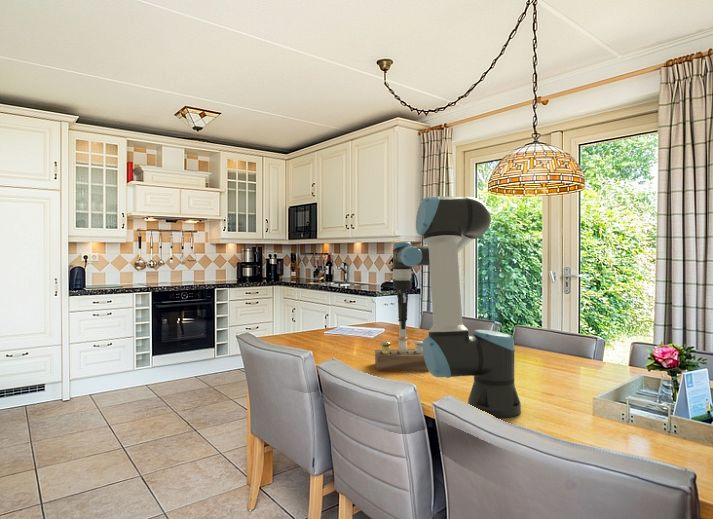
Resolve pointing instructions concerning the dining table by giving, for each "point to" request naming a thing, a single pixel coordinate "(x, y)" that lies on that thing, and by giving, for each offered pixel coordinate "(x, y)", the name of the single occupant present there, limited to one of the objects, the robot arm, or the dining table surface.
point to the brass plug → (385, 347)
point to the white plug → (402, 345)
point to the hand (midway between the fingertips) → (402, 336)
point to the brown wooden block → (400, 361)
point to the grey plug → (419, 346)
